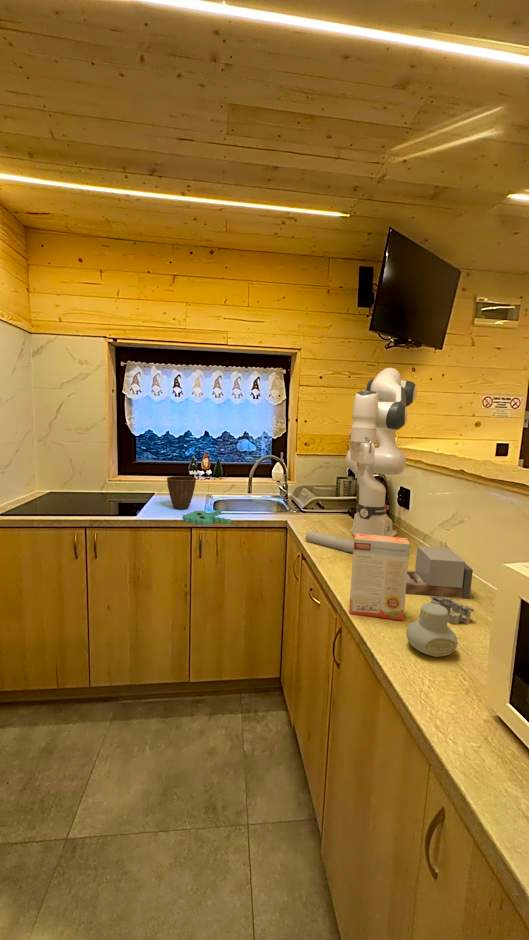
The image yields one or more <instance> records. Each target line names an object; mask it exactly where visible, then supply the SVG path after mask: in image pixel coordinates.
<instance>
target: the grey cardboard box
mask: <svg viewBox="0 0 529 940" xmlns="http://www.w3.org/2000/svg"><path fill="white" fill-rule="evenodd" d="M465 563H466V561H465V560H464V559H462V558H461V557H460V556H459V555H458V554H456V553H455V551H453V550H452V549H450V547H442V546H441V547H439V546H425V545H423V546H422V545H417V548H416V559H415V567H414V569H415V570H414V571H417V572H418V574H419V575H420V576H421V577H422V579H423V580H424V581H425V582H426V584H427V585H430V586H445V587H459V588H462V585H463V576H464V567H465Z"/></svg>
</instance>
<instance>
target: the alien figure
mask: <svg viewBox="0 0 529 940" xmlns="http://www.w3.org/2000/svg"><path fill="white" fill-rule="evenodd" d="M219 515H220V516H221V515H222V510H221V509H216V510H214V511H211V512H209V513H205V511H204V510H194V511H191V512H190V513H189V512H188V513H186V514H182V519H183V520H184V522H185V523H191V524H196V525H202V526H207V525H208V526H210V525H213V522H214V523H216V522H218V523H221V524H224V523H225V524H226V525H231V524H232V519H231V518H225V517H219Z"/></svg>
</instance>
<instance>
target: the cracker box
mask: <svg viewBox="0 0 529 940" xmlns="http://www.w3.org/2000/svg"><path fill="white" fill-rule="evenodd" d="M353 540H354V550H353V554H352V565H351V578H350V595H349V609H348V610H349V611H348V612H349V614H353V615H361V616H368V617H375V618H382V619H387V620H388V619H389V620H397V621H404V616H405V615H404V614H405V603H406V595H407V594H406V582H407V571H408V570H409V556H410V548H411V547H410V546H411V544H410V541H409V540H408V538H407V537H397V536H394V537H389V536H378V535H368V534H358V533H355V536H354V539H353Z"/></svg>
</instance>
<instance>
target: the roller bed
mask: <svg viewBox="0 0 529 940" xmlns="http://www.w3.org/2000/svg"><path fill="white" fill-rule="evenodd" d="M473 572H474V569H472V568H471V567H470V566H469V565H467V563H466V562H465V567H464V576H463V585H462V588H459V587H445V586H430V585H427V584H426V582H425V581H424V580H423V579H422V577H421V576H420V575H419V574H418V572H417V571H416V570H409V569H408V571H407V582H406V594H405V595H419V596H432V597H435V596H436V597H443V596H444V598H445V597H446V598H447V597H449V598H461V599H468V600H470V597H471V588H472V581H473V580H472V579H473Z"/></svg>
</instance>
